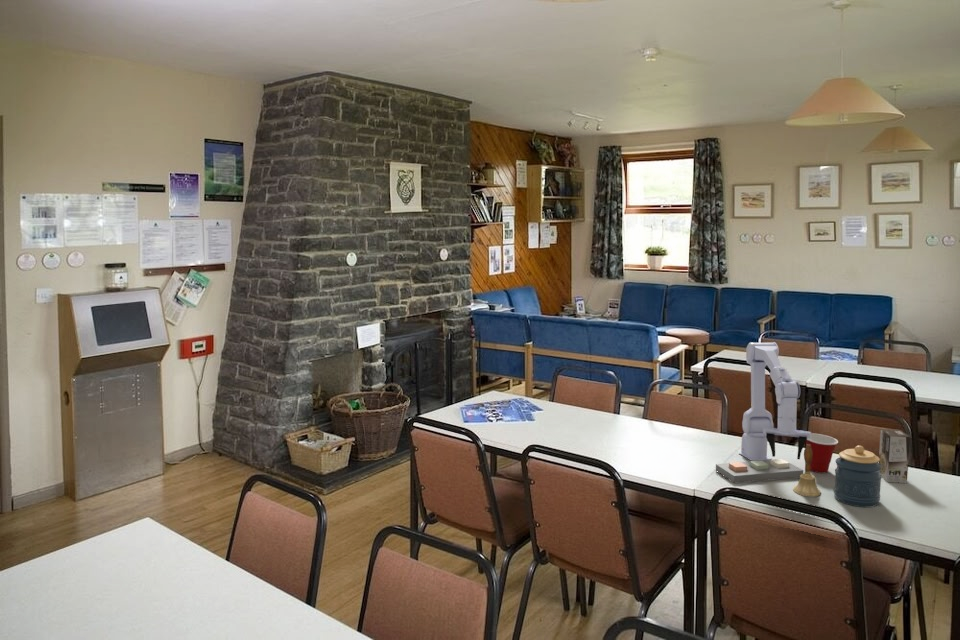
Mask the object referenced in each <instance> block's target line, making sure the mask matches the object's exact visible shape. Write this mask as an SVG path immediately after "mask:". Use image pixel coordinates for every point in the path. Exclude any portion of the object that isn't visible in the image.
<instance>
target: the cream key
mask: <svg viewBox="0 0 960 640" xmlns="http://www.w3.org/2000/svg"><path fill="white" fill-rule="evenodd" d="M788 462H789V461H787V460H785V459H784V458H777V459H772V460H771V461H770V464H771V465H772V466H774V467H776V468H789V463H790V462H789V463H788Z"/></svg>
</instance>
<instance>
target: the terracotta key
mask: <svg viewBox="0 0 960 640" xmlns="http://www.w3.org/2000/svg"><path fill="white" fill-rule="evenodd" d="M741 462H742V461H739V462H738V461H737V462H728V463H729V468H730V469H732V470H733V471H735V472H739V471H747V466H746V465H744V464H743V463H741Z"/></svg>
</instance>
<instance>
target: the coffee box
mask: <svg viewBox="0 0 960 640" xmlns="http://www.w3.org/2000/svg"><path fill="white" fill-rule="evenodd" d="M910 447H911V436H910V435H908V434H907V433H905V432H904V431H903V430H901V429H894V428H893V429H891V428H889V429H884V428H882V429H881V428H880V435H879V451H878V452H879V453H878V457H879V459H880V461H879V462H878V463H880V464H881V465H882V469H881V470H880V475H881V477H882V478H883V480H885V481H886V482H887V483H898V482H899V483H901V484H907V483H908V475H909V473H908V470H909V460H910Z"/></svg>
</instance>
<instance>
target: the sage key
mask: <svg viewBox="0 0 960 640" xmlns="http://www.w3.org/2000/svg"><path fill="white" fill-rule="evenodd" d="M749 462H750V467H752V468H754V469H755V470H764V469H768V467H769V465H768V464H767V463H765V462H763V460H762V461H751V460H749Z"/></svg>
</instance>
